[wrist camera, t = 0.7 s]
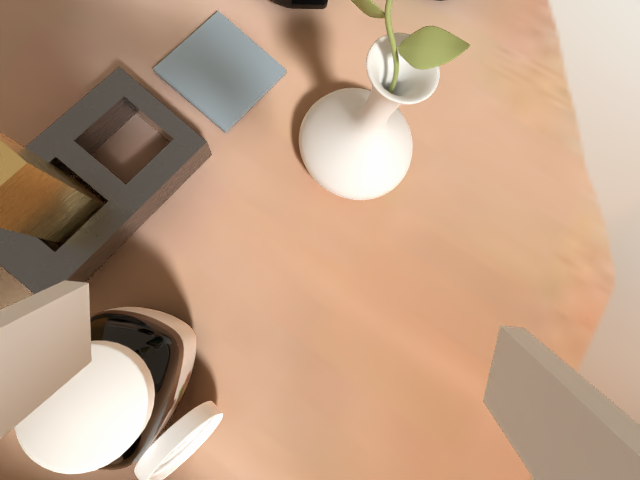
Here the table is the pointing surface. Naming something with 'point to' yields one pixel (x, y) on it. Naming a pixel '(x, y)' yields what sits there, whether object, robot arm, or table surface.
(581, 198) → the table surface
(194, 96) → the slate pad
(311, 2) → the end cap
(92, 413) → the spread jar
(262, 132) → the table surface
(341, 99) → the flower in vase
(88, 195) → the brass peg
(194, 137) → the steel socket block
